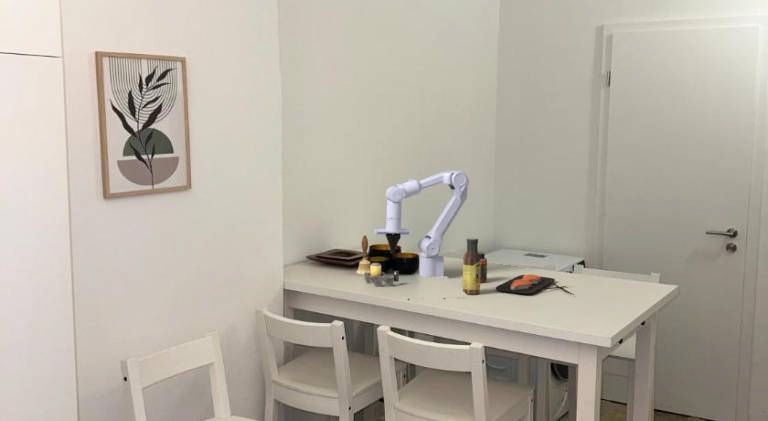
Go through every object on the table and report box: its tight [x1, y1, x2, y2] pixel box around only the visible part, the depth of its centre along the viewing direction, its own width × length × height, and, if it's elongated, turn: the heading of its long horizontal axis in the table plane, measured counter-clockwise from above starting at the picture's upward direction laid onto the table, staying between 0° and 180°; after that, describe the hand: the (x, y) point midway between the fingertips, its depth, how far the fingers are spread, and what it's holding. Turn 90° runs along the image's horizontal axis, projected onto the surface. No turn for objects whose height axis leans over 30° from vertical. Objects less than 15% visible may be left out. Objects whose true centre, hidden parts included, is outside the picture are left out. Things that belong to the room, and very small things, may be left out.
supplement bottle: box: [478, 251, 488, 284], centre depth 289 cm, size 6×6×11 cm
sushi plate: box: [495, 274, 575, 295], centre depth 278 cm, size 29×30×4 cm
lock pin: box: [382, 270, 400, 287], centre depth 276 cm, size 8×2×5 cm, turn 99°
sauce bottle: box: [462, 237, 481, 296], centre depth 269 cm, size 7×6×20 cm
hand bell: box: [355, 235, 372, 275], centre depth 298 cm, size 8×8×16 cm
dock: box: [363, 271, 394, 288], centre depth 282 cm, size 17×17×4 cm
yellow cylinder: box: [370, 262, 382, 276], centre depth 283 cm, size 4×4×7 cm
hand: (392, 253), depth 290 cm, fingers closed
